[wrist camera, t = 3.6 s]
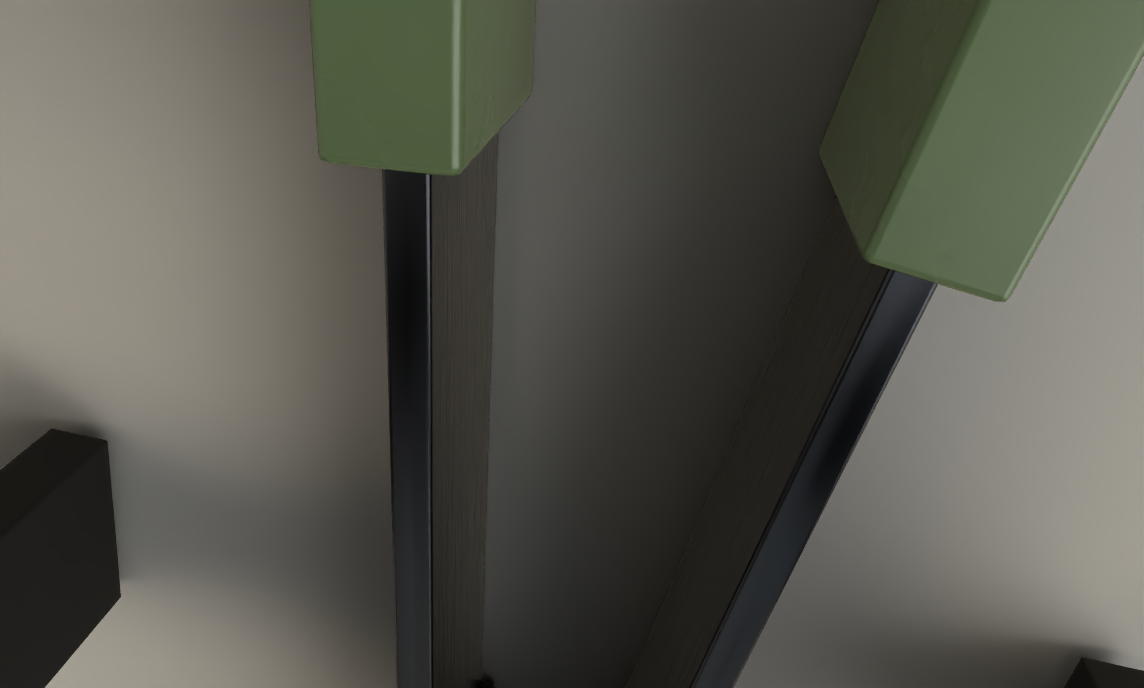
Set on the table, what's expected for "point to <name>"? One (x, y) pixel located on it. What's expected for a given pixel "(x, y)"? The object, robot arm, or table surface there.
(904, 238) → the tongs
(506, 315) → the table surface
